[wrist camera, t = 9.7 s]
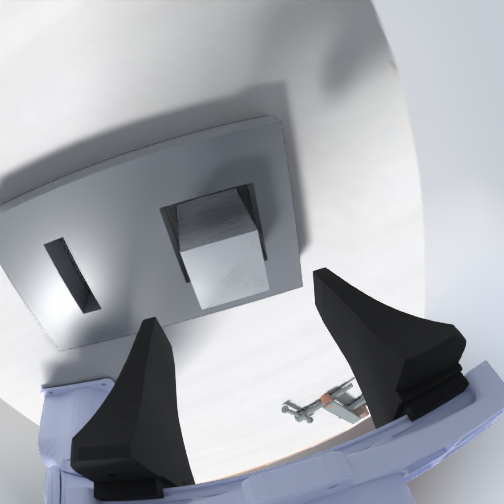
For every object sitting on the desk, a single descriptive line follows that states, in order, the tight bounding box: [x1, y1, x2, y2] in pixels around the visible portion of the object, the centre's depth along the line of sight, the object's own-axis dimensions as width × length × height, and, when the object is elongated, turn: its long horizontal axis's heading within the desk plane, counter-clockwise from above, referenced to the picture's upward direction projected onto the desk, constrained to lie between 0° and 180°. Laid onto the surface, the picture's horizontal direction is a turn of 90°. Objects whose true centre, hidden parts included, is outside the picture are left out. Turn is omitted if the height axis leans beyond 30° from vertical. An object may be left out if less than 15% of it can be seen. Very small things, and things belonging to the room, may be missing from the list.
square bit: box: [177, 188, 270, 310], centre depth 20 cm, size 4×4×6 cm
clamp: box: [282, 383, 369, 424], centre depth 40 cm, size 15×2×10 cm
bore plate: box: [0, 115, 303, 351], centre depth 20 cm, size 20×12×2 cm, turn 101°
